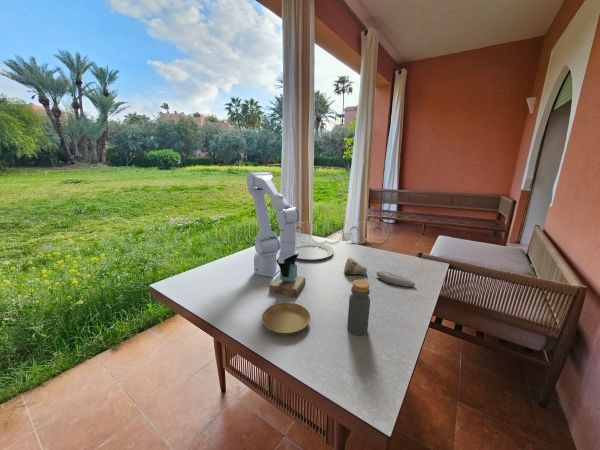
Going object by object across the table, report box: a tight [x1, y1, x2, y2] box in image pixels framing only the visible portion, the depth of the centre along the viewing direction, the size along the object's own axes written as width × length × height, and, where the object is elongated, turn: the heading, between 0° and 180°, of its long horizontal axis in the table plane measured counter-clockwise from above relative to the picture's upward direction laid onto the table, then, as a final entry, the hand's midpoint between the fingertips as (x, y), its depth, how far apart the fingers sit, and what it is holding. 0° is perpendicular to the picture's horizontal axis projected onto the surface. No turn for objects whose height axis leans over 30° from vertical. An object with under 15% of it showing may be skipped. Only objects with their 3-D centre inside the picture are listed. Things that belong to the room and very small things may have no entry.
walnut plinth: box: [268, 274, 307, 298], centre depth 95 cm, size 11×11×3 cm
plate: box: [296, 242, 334, 261], centre depth 132 cm, size 26×26×2 cm
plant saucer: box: [261, 302, 311, 336], centre depth 75 cm, size 15×15×3 cm
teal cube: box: [279, 263, 298, 282], centre depth 94 cm, size 5×5×5 cm
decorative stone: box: [376, 270, 416, 288], centre depth 101 cm, size 6×16×3 cm, turn 56°
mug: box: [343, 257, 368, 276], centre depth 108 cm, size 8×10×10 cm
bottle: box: [346, 279, 371, 336], centre depth 70 cm, size 6×6×15 cm
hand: (287, 273), depth 94 cm, fingers closed on teal cube, 5 cm apart
